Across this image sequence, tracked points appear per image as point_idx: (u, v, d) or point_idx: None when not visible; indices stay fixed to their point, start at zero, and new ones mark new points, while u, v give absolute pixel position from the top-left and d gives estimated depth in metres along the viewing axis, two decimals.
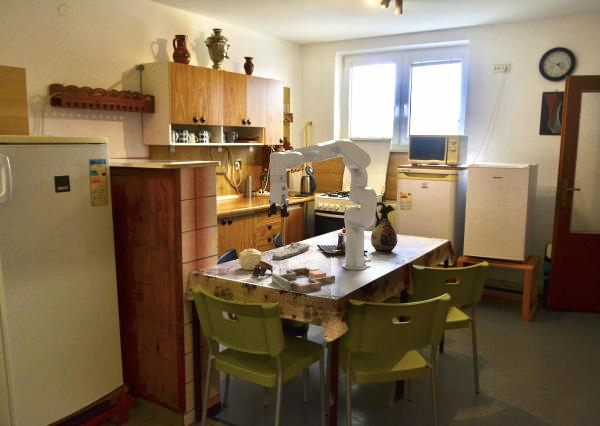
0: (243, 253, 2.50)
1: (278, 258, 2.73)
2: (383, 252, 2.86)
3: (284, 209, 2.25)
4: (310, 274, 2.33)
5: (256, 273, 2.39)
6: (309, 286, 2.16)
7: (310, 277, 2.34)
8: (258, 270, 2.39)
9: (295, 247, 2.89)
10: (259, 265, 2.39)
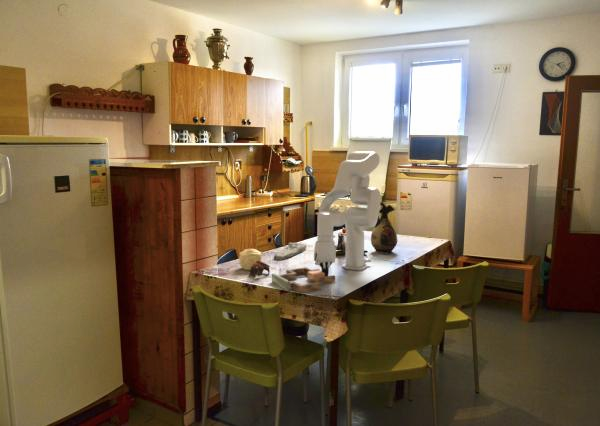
0: (243, 253, 2.50)
1: (280, 258, 2.72)
2: (383, 252, 2.86)
3: None
4: (309, 274, 2.33)
5: (253, 273, 2.39)
6: (309, 286, 2.16)
7: (309, 277, 2.33)
8: (255, 270, 2.39)
9: (294, 247, 2.89)
10: (256, 265, 2.40)
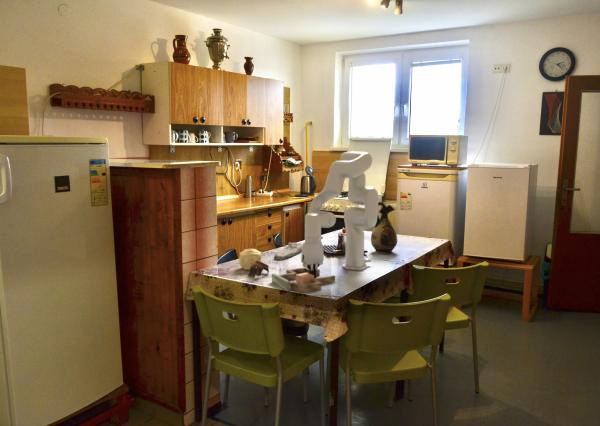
0: (243, 253, 2.50)
1: (281, 258, 2.72)
2: (383, 252, 2.86)
3: None
4: (297, 277, 2.28)
5: (252, 273, 2.39)
6: (309, 286, 2.16)
7: (297, 280, 2.28)
8: (254, 270, 2.39)
9: (294, 247, 2.89)
10: (255, 265, 2.40)
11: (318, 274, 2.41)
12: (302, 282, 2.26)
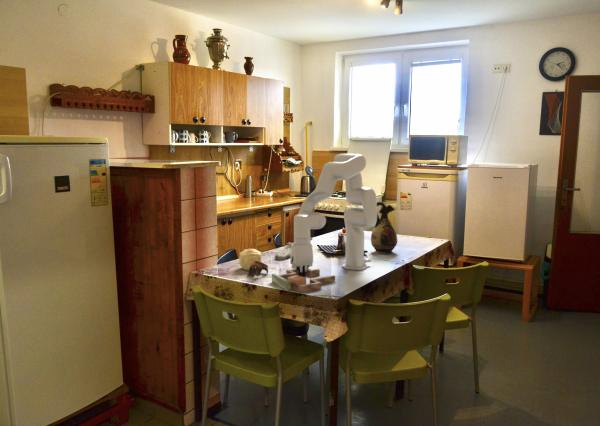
0: (243, 253, 2.50)
1: (281, 258, 2.72)
2: (383, 252, 2.86)
3: None
4: (289, 280, 2.24)
5: (251, 273, 2.39)
6: (309, 286, 2.16)
7: None
8: (253, 270, 2.39)
9: None
10: (254, 265, 2.40)
11: (318, 274, 2.41)
12: None
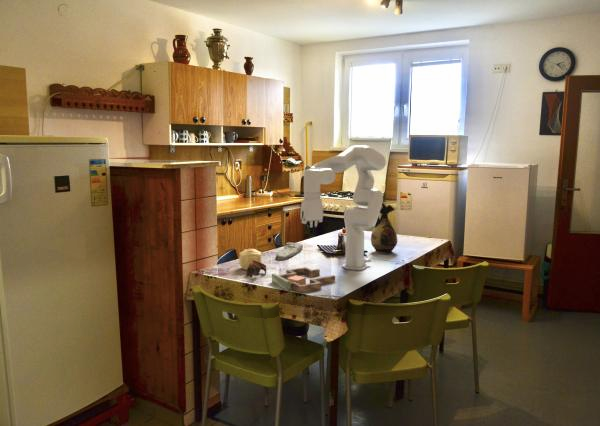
0: (243, 253, 2.50)
1: (283, 258, 2.72)
2: (383, 252, 2.86)
3: None
4: (289, 280, 2.23)
5: (250, 273, 2.39)
6: (309, 286, 2.16)
7: None
8: (252, 270, 2.39)
9: (293, 247, 2.90)
10: (253, 265, 2.40)
11: (318, 274, 2.41)
12: None
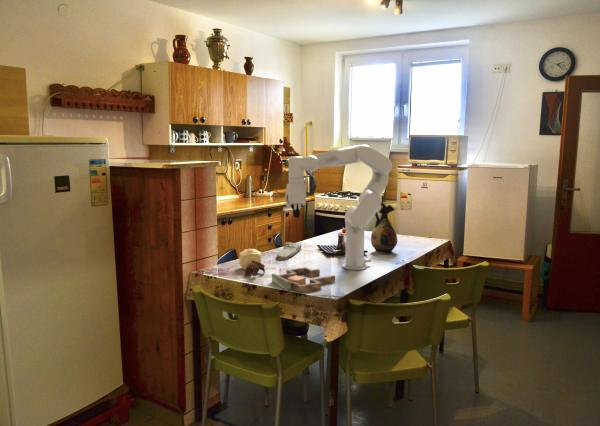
0: (243, 253, 2.50)
1: (283, 258, 2.72)
2: (383, 252, 2.86)
3: None
4: (289, 280, 2.23)
5: (248, 273, 2.40)
6: (309, 286, 2.16)
7: None
8: (250, 270, 2.39)
9: (292, 247, 2.90)
10: (251, 265, 2.40)
11: (318, 274, 2.41)
12: None
